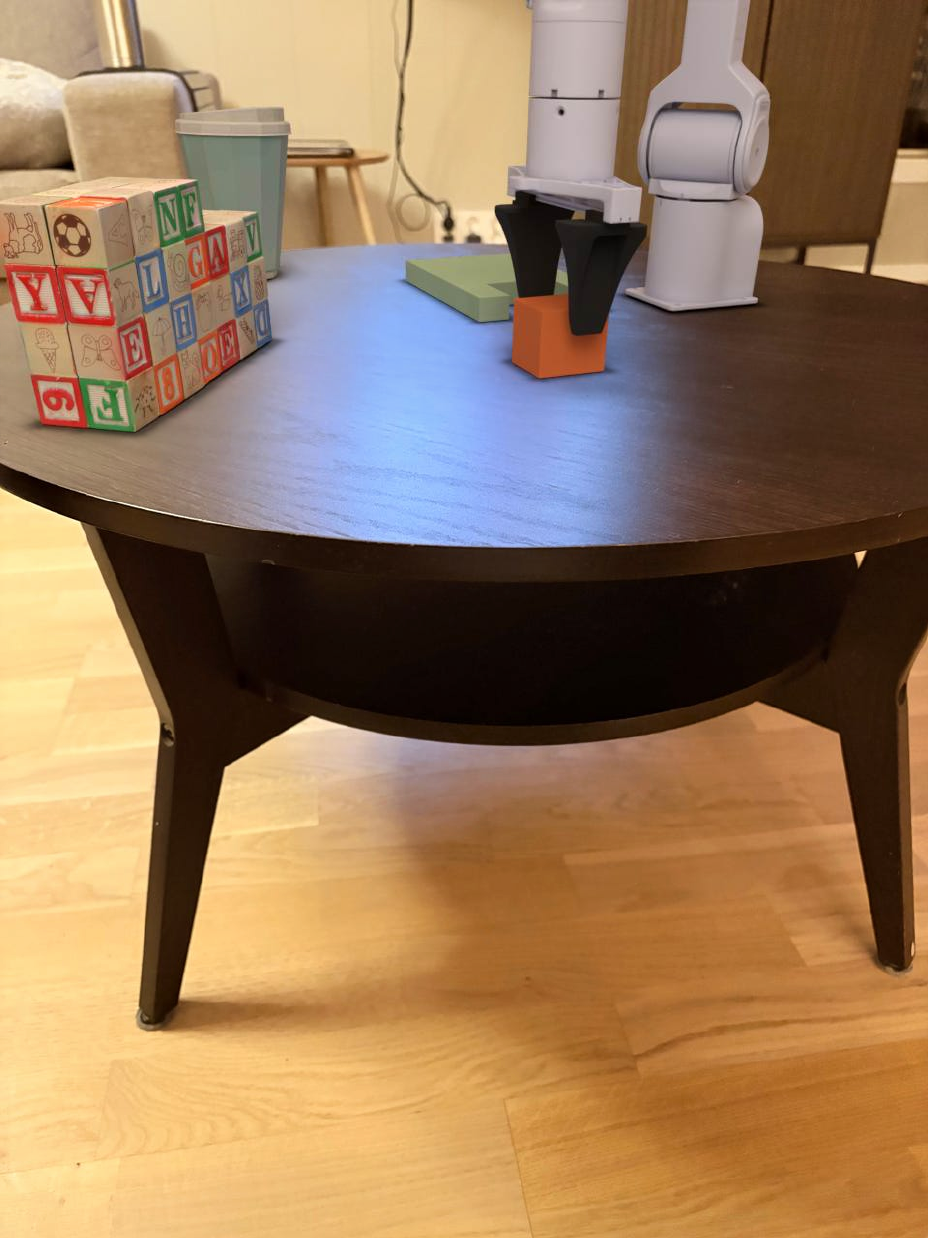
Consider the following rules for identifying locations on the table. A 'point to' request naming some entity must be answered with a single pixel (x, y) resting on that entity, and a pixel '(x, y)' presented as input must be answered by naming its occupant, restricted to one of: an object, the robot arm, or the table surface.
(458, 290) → the base pad
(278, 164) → the disposable coffee cup
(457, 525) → the table surface
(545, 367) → the orange cube
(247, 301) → the stack of blocks
